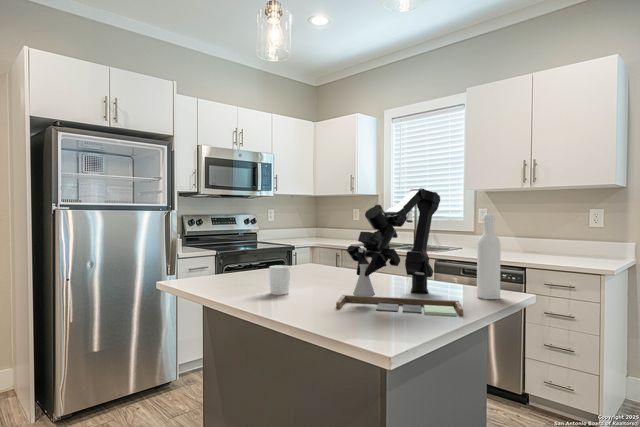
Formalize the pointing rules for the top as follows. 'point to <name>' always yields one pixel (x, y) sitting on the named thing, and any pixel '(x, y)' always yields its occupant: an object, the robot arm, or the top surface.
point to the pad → (439, 310)
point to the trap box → (399, 303)
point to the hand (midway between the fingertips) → (361, 275)
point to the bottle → (488, 261)
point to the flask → (363, 284)
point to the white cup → (279, 279)
